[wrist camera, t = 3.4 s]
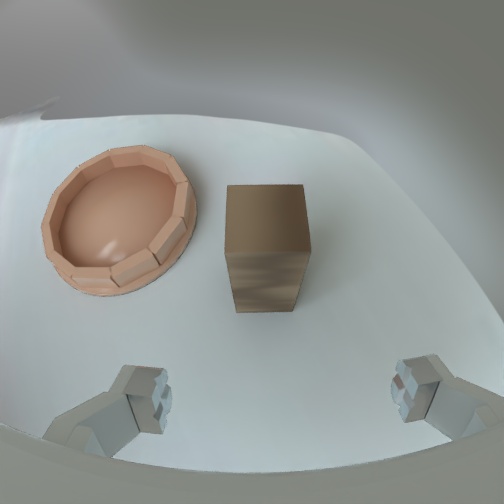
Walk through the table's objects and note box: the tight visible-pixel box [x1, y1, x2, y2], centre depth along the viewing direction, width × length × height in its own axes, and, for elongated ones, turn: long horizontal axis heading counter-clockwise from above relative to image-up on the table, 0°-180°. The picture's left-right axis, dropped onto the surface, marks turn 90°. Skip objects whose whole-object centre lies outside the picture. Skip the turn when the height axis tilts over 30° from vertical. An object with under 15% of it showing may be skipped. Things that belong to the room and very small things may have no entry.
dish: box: [41, 145, 197, 297], centre depth 28 cm, size 16×16×3 cm
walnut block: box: [225, 185, 311, 313], centre depth 22 cm, size 4×4×10 cm
